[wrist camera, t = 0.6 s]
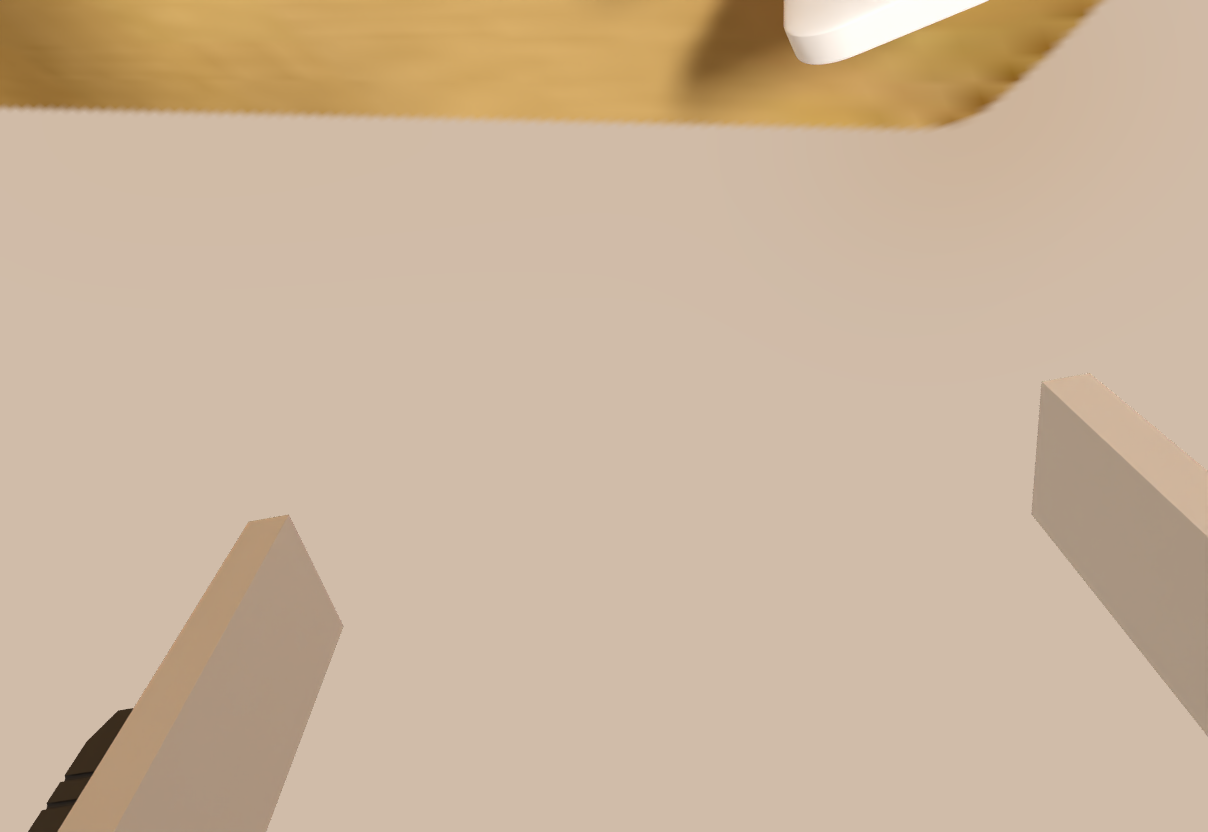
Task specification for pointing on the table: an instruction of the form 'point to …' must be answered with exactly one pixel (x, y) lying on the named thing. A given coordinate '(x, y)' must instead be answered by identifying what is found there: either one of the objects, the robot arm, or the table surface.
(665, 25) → the table surface
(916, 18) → the white notched block
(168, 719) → the robot arm
